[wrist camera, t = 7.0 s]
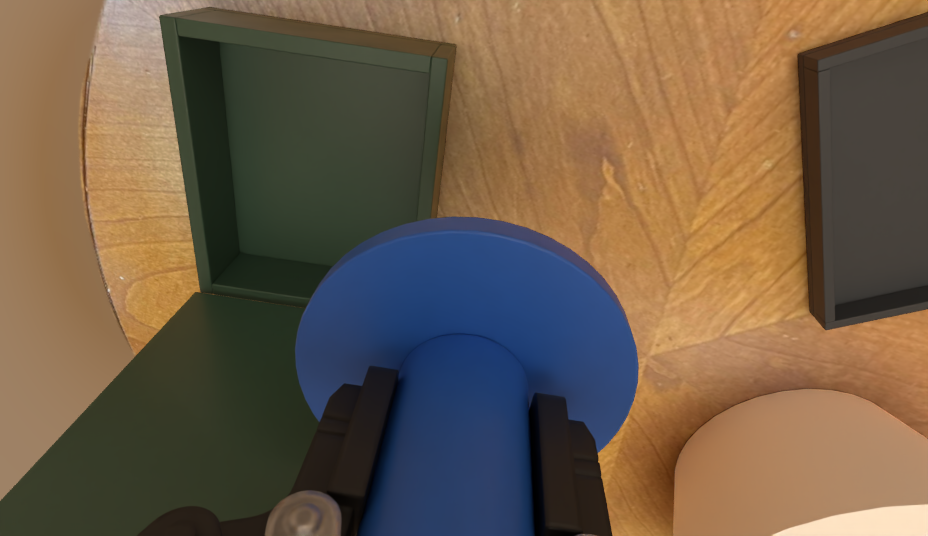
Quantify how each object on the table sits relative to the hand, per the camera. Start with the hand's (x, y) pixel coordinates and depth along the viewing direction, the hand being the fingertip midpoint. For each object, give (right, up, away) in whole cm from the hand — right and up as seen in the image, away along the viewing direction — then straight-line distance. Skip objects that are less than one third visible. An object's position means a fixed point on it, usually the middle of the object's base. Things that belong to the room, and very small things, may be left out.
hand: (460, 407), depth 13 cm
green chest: (-8, +10, +20) cm, 23 cm away
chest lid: (-10, -3, +12) cm, 16 cm away
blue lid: (0, +1, +1) cm, 2 cm away
